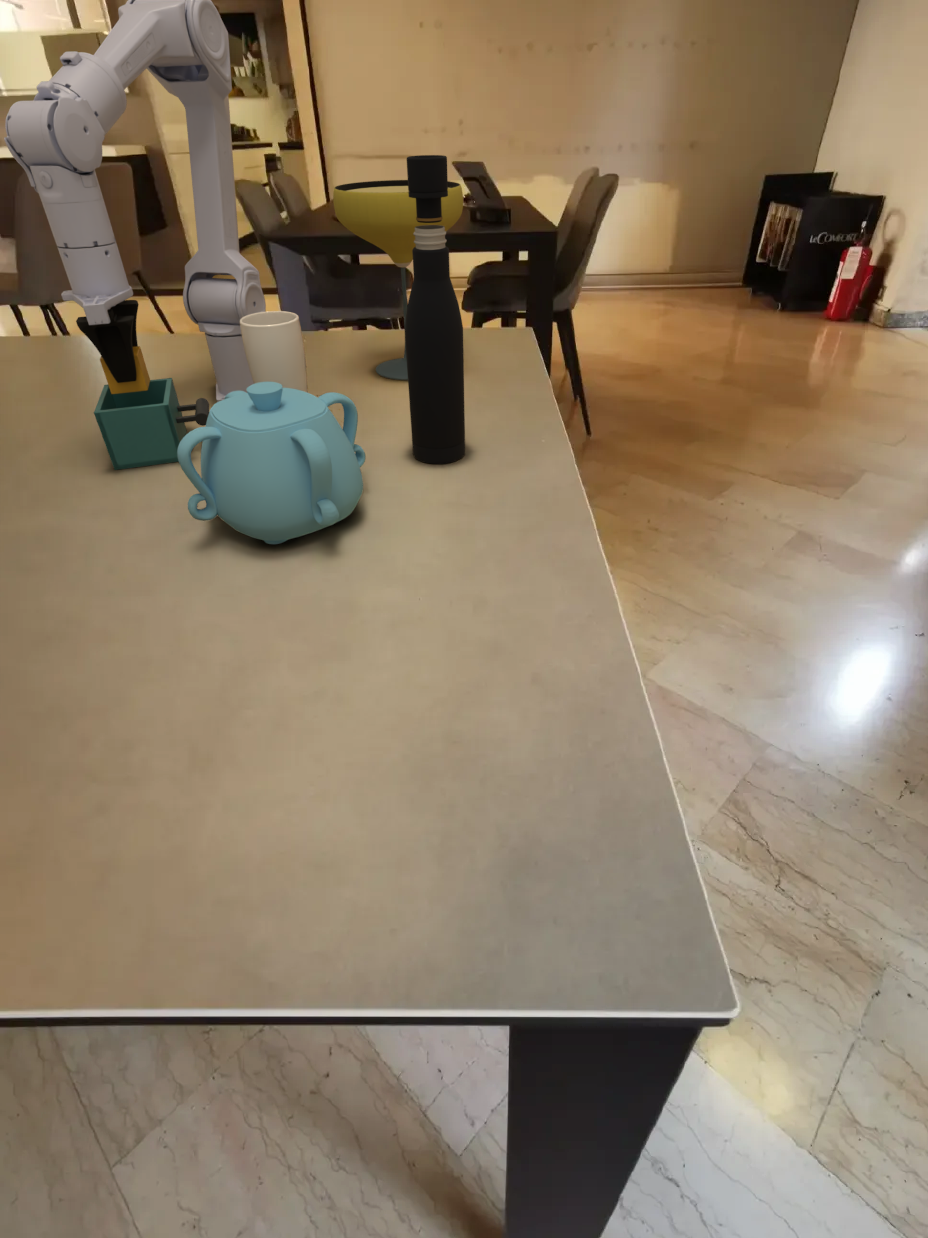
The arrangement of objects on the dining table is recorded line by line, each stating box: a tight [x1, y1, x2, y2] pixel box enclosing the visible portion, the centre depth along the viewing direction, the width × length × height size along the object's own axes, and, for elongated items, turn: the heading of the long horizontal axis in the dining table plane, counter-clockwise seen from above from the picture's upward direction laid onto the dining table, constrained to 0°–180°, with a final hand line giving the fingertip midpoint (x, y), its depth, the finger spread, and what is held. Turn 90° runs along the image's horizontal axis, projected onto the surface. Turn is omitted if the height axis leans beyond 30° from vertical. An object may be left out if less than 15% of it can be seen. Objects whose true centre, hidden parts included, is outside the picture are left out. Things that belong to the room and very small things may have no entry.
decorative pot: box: [177, 382, 366, 545], centre depth 66 cm, size 16×16×14 cm
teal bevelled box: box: [93, 377, 210, 471], centre depth 82 cm, size 12×10×7 cm
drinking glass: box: [240, 310, 309, 393], centre depth 80 cm, size 7×7×15 cm
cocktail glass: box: [332, 179, 464, 381], centre depth 100 cm, size 18×18×25 cm
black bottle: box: [404, 154, 466, 465], centre depth 73 cm, size 6×6×30 cm
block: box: [99, 345, 151, 394], centre depth 78 cm, size 4×4×4 cm
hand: (128, 375), depth 79 cm, fingers closed on block, 4 cm apart
